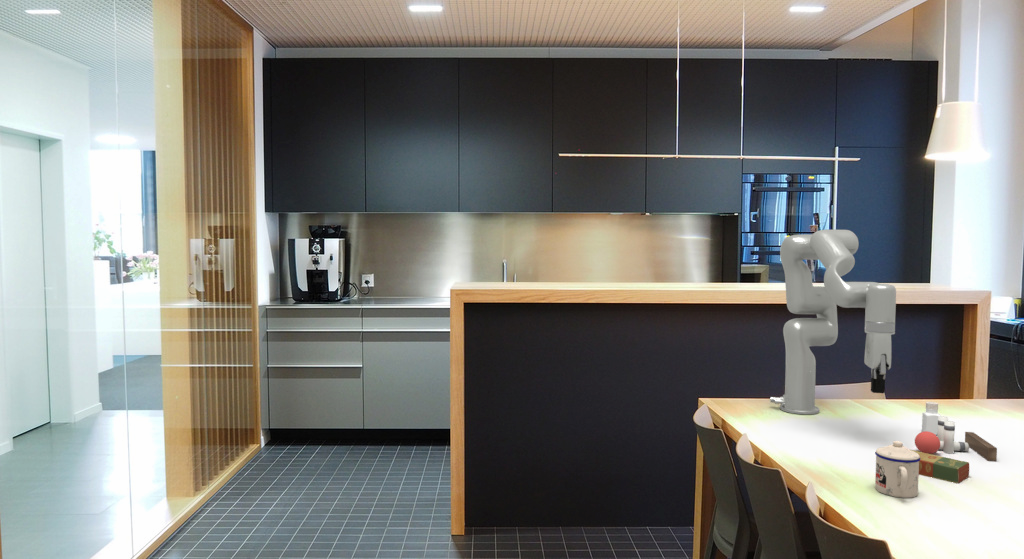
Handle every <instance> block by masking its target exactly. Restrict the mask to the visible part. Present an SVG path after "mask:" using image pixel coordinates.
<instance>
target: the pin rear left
mask: <svg viewBox="0 0 1024 559" xmlns="http://www.w3.org/2000/svg"><path fill="white" fill-rule="evenodd" d="M944 421H949V417H948V416H942V415H940V416H939V417H938V434H937V437H938V438H939V440H940V441H944Z"/></svg>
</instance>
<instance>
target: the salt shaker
mask: <svg viewBox="0 0 1024 559" xmlns="http://www.w3.org/2000/svg"><path fill="white" fill-rule="evenodd" d="M938 410H939V402H935V401H926V402H925V411H924V412H922V414H921V415H922V418H921V420H922V421H921V423H922V424H921V432H924V431H928V432H932V433H934V434H935V435H937V434H938V417H939V416H941V415H940V414H939V413H938Z"/></svg>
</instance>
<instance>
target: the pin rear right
mask: <svg viewBox="0 0 1024 559" xmlns="http://www.w3.org/2000/svg"><path fill="white" fill-rule="evenodd" d="M955 423H956V422H955V421H952V420H948V421H944V447H943V450H942V451H943V453H944V454H948V455H952V454H954V452H955V451H954V442H955V429H956V424H955Z"/></svg>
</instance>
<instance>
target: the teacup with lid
mask: <svg viewBox="0 0 1024 559" xmlns="http://www.w3.org/2000/svg"><path fill="white" fill-rule="evenodd" d="M903 443H904V442H902V441H899V440H893V442H892V444H889V445H885V446H882V447H878V448H877V449H876V450H875V453H874V454H875V480H874V483H875V484H874V486H875V487H874V488H875V489H876V490H877V491H878V492H879V493H881V494H883V495H886V496H889V497H895V498H903V499H906V498H907V499H909V498H915V497H917V496H918V493H919V476H920V475H919V461H920V456H919V454H918V453H916V452H914V451H915V450H914V451H911V450H912V449H909V448H908V447H906V446H904V444H903Z"/></svg>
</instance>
